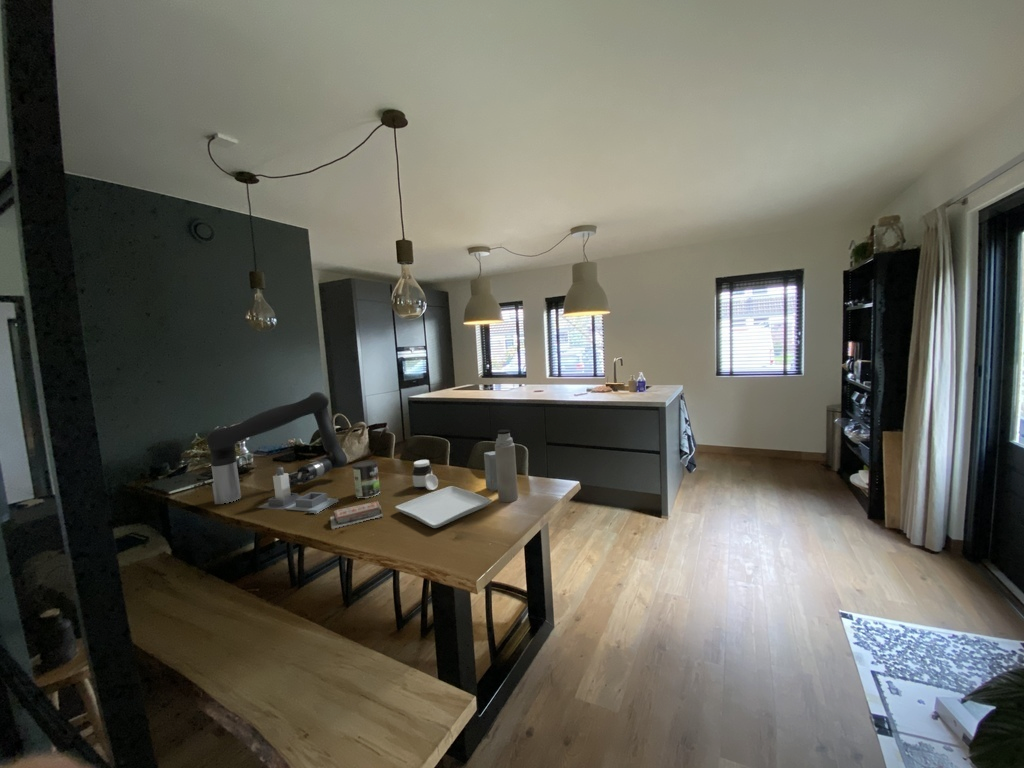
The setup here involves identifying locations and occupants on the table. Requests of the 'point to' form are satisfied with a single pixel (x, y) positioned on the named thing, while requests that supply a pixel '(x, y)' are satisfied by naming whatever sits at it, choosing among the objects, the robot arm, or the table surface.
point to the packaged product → (355, 514)
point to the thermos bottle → (506, 467)
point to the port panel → (312, 502)
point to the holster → (280, 502)
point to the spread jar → (424, 476)
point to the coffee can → (366, 479)
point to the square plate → (443, 506)
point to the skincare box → (490, 471)
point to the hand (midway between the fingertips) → (282, 483)
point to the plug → (281, 484)
